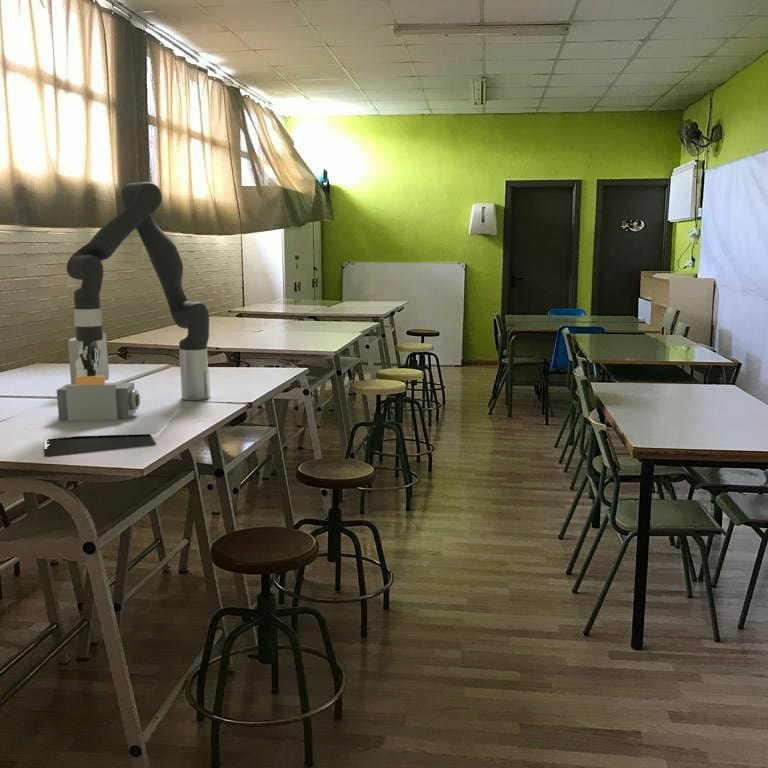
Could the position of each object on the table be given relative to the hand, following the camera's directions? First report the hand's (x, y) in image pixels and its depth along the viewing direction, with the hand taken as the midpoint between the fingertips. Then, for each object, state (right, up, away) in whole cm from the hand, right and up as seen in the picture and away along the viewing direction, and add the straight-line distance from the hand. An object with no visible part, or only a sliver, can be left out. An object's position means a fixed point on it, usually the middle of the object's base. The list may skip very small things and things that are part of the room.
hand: (92, 382), depth 224 cm
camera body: (+1, -11, +5) cm, 12 cm away
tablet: (+11, -17, -24) cm, 31 cm away
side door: (0, -11, -1) cm, 11 cm away
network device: (-22, -3, +55) cm, 60 cm away
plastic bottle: (-8, -9, +17) cm, 21 cm away
